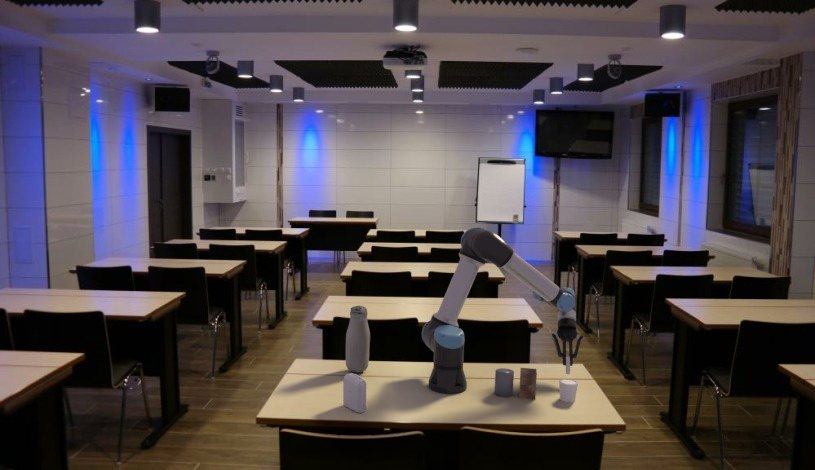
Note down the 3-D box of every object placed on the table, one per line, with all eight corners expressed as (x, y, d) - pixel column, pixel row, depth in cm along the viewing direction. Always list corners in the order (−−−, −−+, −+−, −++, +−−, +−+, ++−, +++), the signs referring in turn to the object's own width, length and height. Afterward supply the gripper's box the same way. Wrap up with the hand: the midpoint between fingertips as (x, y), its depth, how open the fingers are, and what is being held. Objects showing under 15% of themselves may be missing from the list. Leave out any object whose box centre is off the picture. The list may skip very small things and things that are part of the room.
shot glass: (556, 401, 241) (557, 383, 240) (559, 395, 247) (560, 377, 247) (575, 404, 238) (576, 385, 238) (577, 398, 245) (578, 380, 244)
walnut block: (519, 398, 243) (520, 372, 242) (519, 392, 249) (520, 367, 248) (535, 399, 242) (536, 373, 241) (535, 393, 248) (536, 368, 247)
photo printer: (341, 405, 231) (341, 372, 230) (351, 402, 234) (351, 369, 232) (357, 414, 223) (358, 380, 222) (367, 411, 226) (368, 377, 224)
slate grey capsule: (494, 396, 244) (495, 373, 243) (494, 389, 251) (495, 367, 250) (512, 397, 243) (513, 375, 242) (512, 391, 250) (513, 369, 249)
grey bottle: (344, 375, 263) (345, 308, 260) (346, 367, 273) (347, 303, 270) (368, 375, 263) (369, 309, 260) (369, 367, 273) (371, 303, 270)
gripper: (581, 327, 273) (583, 377, 258) (550, 325, 275) (550, 375, 260) (583, 317, 267) (585, 369, 252) (551, 316, 269) (552, 367, 255)
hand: (568, 372), depth 256 cm, fingers closed
